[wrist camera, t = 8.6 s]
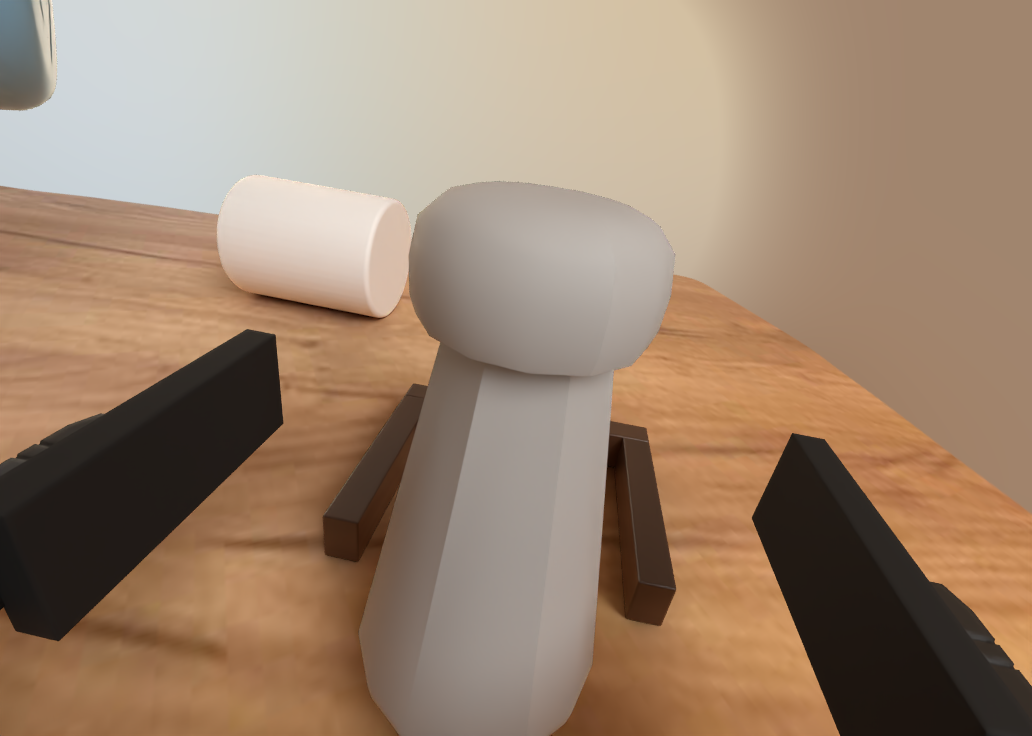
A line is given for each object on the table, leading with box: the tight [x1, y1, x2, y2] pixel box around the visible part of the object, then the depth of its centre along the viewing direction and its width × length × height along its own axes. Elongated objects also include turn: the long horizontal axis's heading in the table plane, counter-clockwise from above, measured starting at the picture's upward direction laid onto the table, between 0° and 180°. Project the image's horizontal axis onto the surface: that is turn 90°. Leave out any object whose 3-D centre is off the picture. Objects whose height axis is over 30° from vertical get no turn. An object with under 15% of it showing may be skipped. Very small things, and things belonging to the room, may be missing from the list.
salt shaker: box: [358, 181, 675, 736], centre depth 11 cm, size 6×6×13 cm
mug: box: [217, 175, 411, 318], centre depth 36 cm, size 12×10×8 cm
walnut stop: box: [323, 384, 676, 626], centre depth 20 cm, size 11×9×2 cm
